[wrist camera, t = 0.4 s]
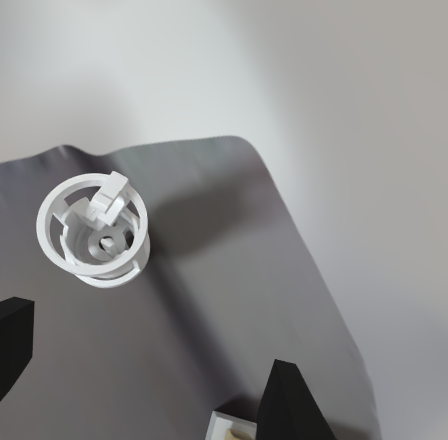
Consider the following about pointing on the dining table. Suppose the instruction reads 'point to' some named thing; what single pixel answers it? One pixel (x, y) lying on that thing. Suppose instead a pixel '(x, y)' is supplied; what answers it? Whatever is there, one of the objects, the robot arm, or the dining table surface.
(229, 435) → the bar
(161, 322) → the dining table surface
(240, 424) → the white panel
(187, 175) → the dining table surface
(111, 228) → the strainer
